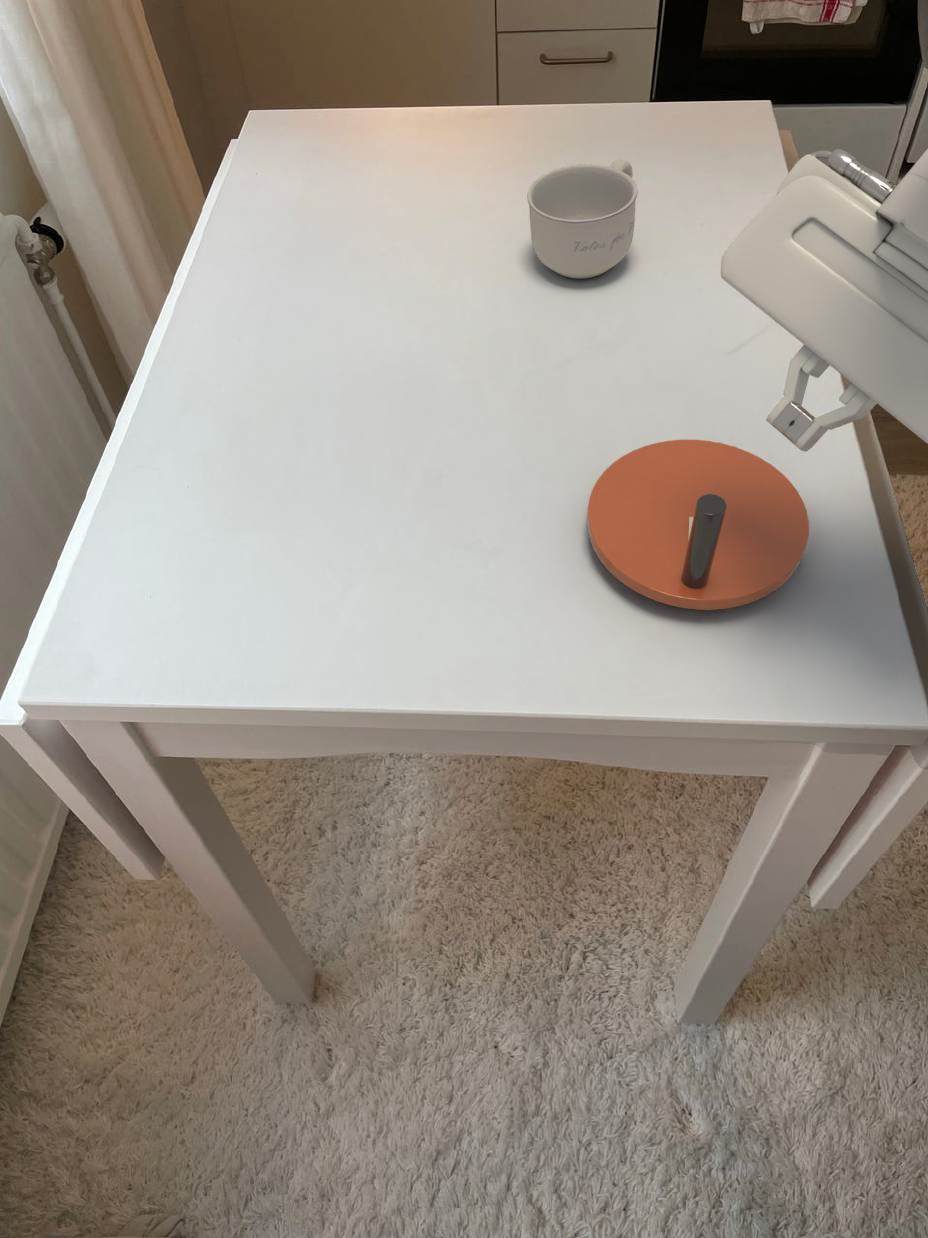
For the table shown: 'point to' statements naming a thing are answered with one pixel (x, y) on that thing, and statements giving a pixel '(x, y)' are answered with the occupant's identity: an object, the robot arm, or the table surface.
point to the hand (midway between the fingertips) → (785, 436)
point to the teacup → (583, 217)
